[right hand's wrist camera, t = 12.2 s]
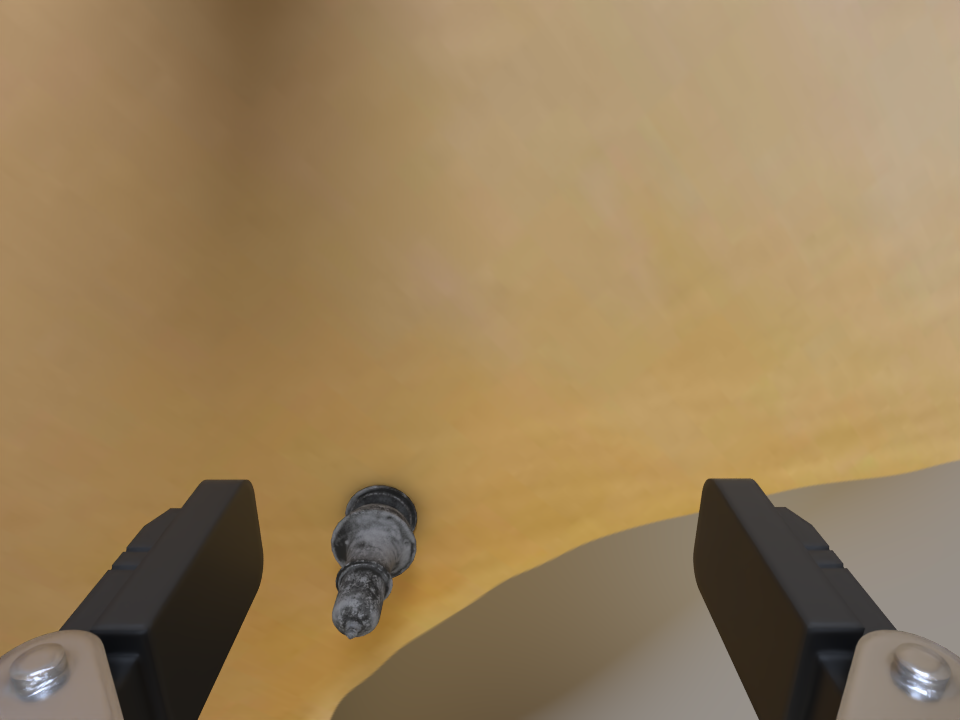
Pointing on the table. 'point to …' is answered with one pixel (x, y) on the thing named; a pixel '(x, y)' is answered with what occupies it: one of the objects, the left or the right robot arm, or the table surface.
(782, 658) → the right robot arm
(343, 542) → the grey stone chess piece
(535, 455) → the table surface
